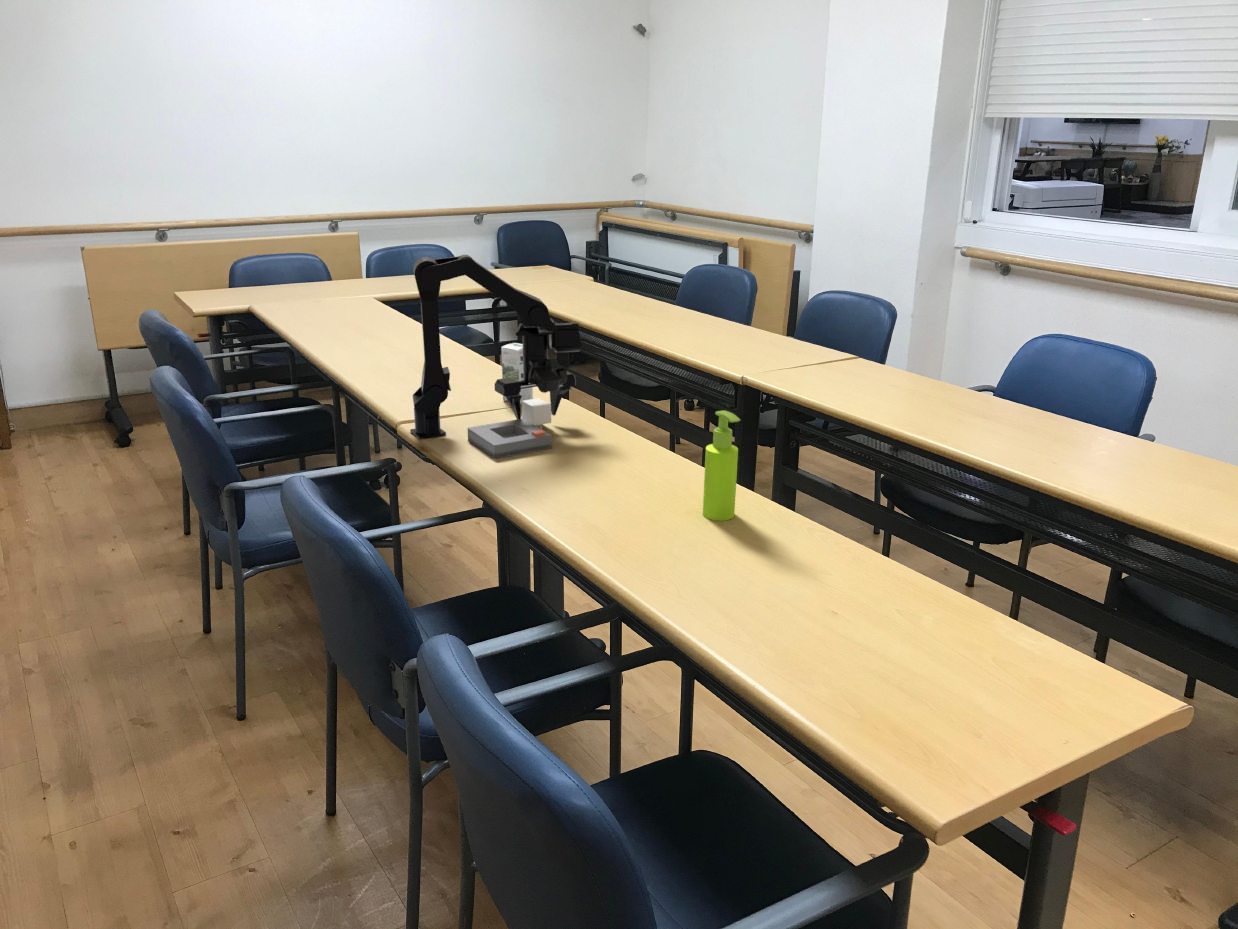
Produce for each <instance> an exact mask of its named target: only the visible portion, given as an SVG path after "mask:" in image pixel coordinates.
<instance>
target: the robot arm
mask: <svg viewBox="0 0 1238 929" xmlns="http://www.w3.org/2000/svg"><path fill="white" fill-rule="evenodd" d="M412 271H413V275H414V280H415V283H416V288H417V291H418V295H419V300H420V312H421V325H422V327H421V328H422V341H423V343H422V344H423V357H424V358H423V359H424V362H423V368H422V373H421V381H420V387H419V388H418V389H417V390H416V391H415V392H413V394H412V402H413V416H414V428H412V429H409V432H410V433H411V434H412V435H414V436H415V437H416V438H418V439H419V440H421V439H428V438H434V437H440V436H446V435H447V431H445V430H444V429H442V428H441V416H440V406H441V404H442V403H444V402H445V401H446V400H447V399H448V397H449V392H451V391H452V388H451V384H450V378H451V373H450V369H449V366H444V367H443V365H442V356H441V355H442V354H441V352H442V351H441V334H440V320H439V319H440V317H439V304H438V303H439V296H440V291H441V282H445V281H449V280H452V279H456V278H459V277H463V276H465V277H468V278H469V279H471V281H473V282H475V283H476V284H478V285H479V286H480V287H482V288H484V289H485V290H487V291H488V292H490V293H491V294H493V295H494V296H496V297H497V298H499V299H500V300H502V301H503V302H505V303H506V304H507V305H508V306H510V308H512V309H513V310H514V312H515V313H516V314H518V316H519V317H520V318H522V319H523V321H524V322H526V323H527V324H528V325H529V326H524V325H523V323H519V325H517V327H516V328H515V329H514V330H513V333H514V335H515V336H516V337H520V336H521V337H522V344H523V356H520V359H521V361H523V373H521V378H523V380H521V381H516V380H514V379H512V378H503V379H502V378H498V379H496V380H495V383H494V392H496V393H498V394H500V395H502V397H503V396H505V397H506V398H507V400H508V403H509V405H510V408H511V409H512V412H513V413H514V414H513V415H514V417H515V420H517V419H522V408H521V404H520V400H521V397H522V396H521V395H519V393H520V391H521V389H524V388H531V387H532V388H535V387H537V388H538V390H539V392H541V393H543V394H545V393H548V392H549V400H550V401H549V404H551V416H556V414H557V411H558V408H559V406H560V403H561V400H562V399H563V397H564V395H565V393H567V392H568V391H571V390H572V387H576V385H577V378H576V376H575V373H572V372H570V371H568V370H567V369H566V368H565V367H558V368H553V366H552V360H551V358H549V356H548V352H549V350H548V347H549V348H550V349H553V351H554V353H575V352H577V353H578V352H580V351H581V348H582V347H581V346H582V338H581V334H580V330H579V323H577V321H571V322H564V323H563V322H561V323H558V322H557V323H555V320H553V319H552V318H550V317H549V316H550V312H549V308H548V307H547V305H546V304H545V303H544V302H543V301H542V299H541V298H540V297H539V298H538V297H536V296H534V295H532V294H530V293H528V292H526V291H522V290H520V289H518V288H516V287H514V286H512V285H511V284H510V283H508V282H506V281H505V280H504V279H502V278H501V277H499V276H498V275H496V274H495V273H493V272H492V271H490V270H489V269H488V268H486V267H485V266H483V265H482V264H480V263H479V262H477V261H476V260H475V259H473V258H472V256H471V255H469V254H461V255H458V256H450V257H449V256H448V257H442V258H436V259H435V258H431V257H429V256H424V257H420V258H418V259H417V260H416V261H415V263H414V264H413V270H412ZM539 327H541V328H542V329H539ZM548 344H549V346H548ZM529 383H530V384H529Z"/></svg>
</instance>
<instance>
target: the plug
mask: <svg viewBox="0 0 1238 929" xmlns="http://www.w3.org/2000/svg"><path fill="white" fill-rule="evenodd" d="M521 419H525V420H527V421H529V422H530V423H532V424H534V425H535V426H538V427H539V428H541V429H542V430H543V425H546V424H551V423H552V412H551V403H550V402H547V401H545V400H543V399H542V398H539V397H537V398H533V399H530V400H524V401H522V404H521Z"/></svg>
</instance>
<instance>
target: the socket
mask: <svg viewBox="0 0 1238 929" xmlns="http://www.w3.org/2000/svg"><path fill="white" fill-rule="evenodd" d="M467 441H469V443H471V444H473V445H474V446H476V447H477V448H478V449H480V450H482V452H484V453H486V454H487V455H489V456H490V457H492V458H493V459H500V458H505V457H510V456H516V455H521V454H525V453H526V454H528V453H532V452H537V451H542V450H549V449H552V448H553V435H552V434H551V433H549V432H548V431H545V430H544V429H543V428H542V429H541V428H539V426H538V425H536V426H535V425H534V424H532V423H530V422H529V421H527V420H525V419H522V418H521V419H513V420H505V421H499V422H495V423H488V424H483V425H476V426H469V427H467Z"/></svg>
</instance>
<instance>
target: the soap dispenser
mask: <svg viewBox="0 0 1238 929" xmlns="http://www.w3.org/2000/svg"><path fill="white" fill-rule="evenodd" d="M714 414H715V415H716V416H717V417H718V426H717V427H716V428H713V432H712V433H713V434H712V435H713V436H712V443H709V444H708V445H706V446H705V456H704V459H705V460H704V480H703V498H702V499H703V500H702V516H703V517H704V518H706V519H708V520H711V521H729V520H731V519H733V518H734V517H735V512H736V511H735V510H736V508H735V507H736V496H737V495H736V493H737V491H736V490H737V477H738V476H737V475H738V460H739V448H738V447H737V446H736V445H734V444H732V443H733V430H732V428H730V427H729V423H731V424H732V423H738V422H741V419H740V418H739V417H738V415H736V414H734V412H730V411H728V410H717V411H715V413H714Z"/></svg>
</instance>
